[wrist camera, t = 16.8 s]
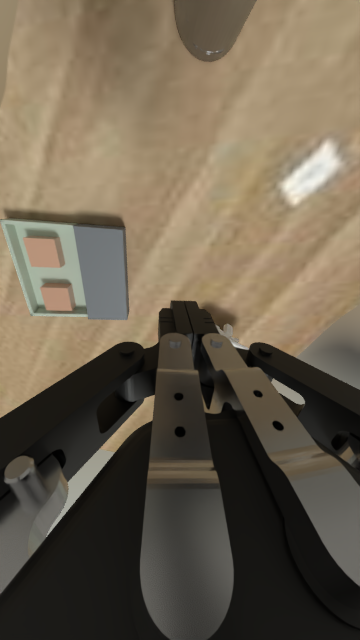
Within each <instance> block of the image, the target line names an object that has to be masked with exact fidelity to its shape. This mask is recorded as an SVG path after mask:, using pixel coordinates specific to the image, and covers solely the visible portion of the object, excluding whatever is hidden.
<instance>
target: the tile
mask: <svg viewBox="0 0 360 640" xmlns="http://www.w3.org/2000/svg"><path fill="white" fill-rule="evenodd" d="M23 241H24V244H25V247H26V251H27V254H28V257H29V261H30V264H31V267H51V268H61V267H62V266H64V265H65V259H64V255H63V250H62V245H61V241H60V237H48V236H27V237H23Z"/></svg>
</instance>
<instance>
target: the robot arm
mask: <svg viewBox="0 0 360 640" xmlns="http://www.w3.org/2000/svg"><path fill="white" fill-rule="evenodd" d="M256 1H257V0H175V4H174V6H175V18H176V23H177V28H178V31H179V34H180V37H181V39H182V41H183V43H184V45H185V46H186V48H187V49H188V50H189V52H190V53H191V54H192V55H193V56H195V57H196V58H197V59H200V60H202V61H208V62H212V61H215V60H218V59H220V58H221V57H223V56H224V55H225V54H226V53H227V52H228V51H229V50H230V49H231V47H232V46H233V44H234V43H235V41H236V39H237V37H238V35H239V33H240V31H241V29H242V27H243V26H244V24H245V22H246V20H247V18H248V16H249V14H250V12H251V10H252V8H253V6H254V4H255V3H256ZM158 341H159V342H158V343H157V344H156V345H155V346H153V347H150V348H146V349H144V348H143V347H142V346H141V345H140V344H138V343H135V342H123V343H119V344H117V345H115V346H114V347H112V348H110V349H109V350H107V351H106V352H104V353H102V354H101V355H99V356H98V357H96V358H95V359H93V360H91V361H90V362H88V363H87V364H85V365H83V366H82V367H80V368H79V369H77V370H76V371H74V372H72V373H71V374H69V375H68V376H66V377H65V378H63V379H61V380H60V381H58V382H57V383H55V384H53V385H52V386H50V387H49V388H47V389H46V390H44V391H42V392H41V393H39V394H38V395H36V396H35V397H33V398H31V399H30V400H28V401H27V402H25V403H23V404H22V405H20V406H19V407H17V408H16V409H14V410H12V411H11V412H9V413H8V414H6V415H4V416H3V417H1V418H0V640H360V390H359V389H357V388H355V387H353V386H351V385H349V384H347V383H345V382H343V381H340V380H338V379H337V378H335V377H333V376H331V375H329V374H327V373H325V372H323V371H321V370H319V369H317V368H315V367H313V366H311V365H309V364H307V363H305V362H303V361H301V360H299V359H297V358H295V357H293V356H291V355H289V354H287V353H285V352H283V351H281V350H279V349H277V348H275V347H273V346H271V345H269V344H266V343H260V342H258V343H253V344H251V345H250V348H249V350H246V349H242V348H237V347H234V346H233V344H232V343H231V341H230V340H229V339H228V338H227V337H225V336H223V335H221V334H220V333H219V331H218V329H217V327H216V325H215V323H214V321H213V319H212V317H211V315H210V313H208V312H207V311H206V310H205V309H199V307H198V305H197V302H196V301H184V302H183V301H171V304H170V308H162V309H161V311H160V312H159V327H158ZM273 378H274V379H275V380H277V381H279V382H281V383H282V384H284V385H286V386H287V387H289V388H291V389H292V390H294V391H296V392H297V393H299V394H300V395H301V396H302V397H303V398H304V400H305V404H302V405H299V404H296V403H294V402H293V401H291V400H290V399H288V398H286V397H285V396H283V395H282V394H280V393H278V391H277V390H276V389H275V387H274V386H273V385H272V383H271V381H272V379H273ZM152 395H155V400H154V411H153V421H151V422H149V423H146V424H145V425H143V426H141V427H140V428H138V429H137V430H136V431H134V432H133V433H132V434H131V435H130V436H129V437H128V438H127V439H126V440H125V441H124V442H123V444H122V445H121V446H120V447H119V449H118V450H117V451H116V452H115V453H114V455H113V456H112V457H111V458H110V460H109V461H108V462H107V463H106V465H105V466H104V467H103V468H102V470H101V471H100V472H99V473H98V474H97V476H96V477H95V478H94V479H93V481H92V482H91V483H90V484H89V486H88V487H87V488H86V489H85V491H84V492H83V493H82V494H81V495H80V497H79V498H78V499H77V500H76V502H75V503H74V504H73V505H72V506H71V508H70V509H69V510H68V512H67V513H66V514H65V515H64V516H63V517H62V519H61V520H60V521H59V522H58V524H57V525H56V526H55V527H54V529H53V530H52V531H51V532H50V534H49V535H48V536H47V537H46V535H47V533H48V531H49V529H50V527H51V525H52V524H53V522H54V521H55V520H56V518H57V517H58V515H59V514H60V513H61V511H62V509H63V508H64V505H65V503H66V500H67V497H68V483H67V482H68V481H69V480H70V479H71V478H72V477H73V476H74V475H75V474H76V473H77V472H78V471H79V470H80V468H81V467H82V466H83V465H84V464H85V463H86V462H87V461H88V460H89V459H90V458H91V457H92V456H93V455H94V454H95V453H96V452H97V451H98V450H99V448H100V447H101V446H102V445H103V444H104V443H105V442H106V441H107V440H108V439H109V438H110V437H111V436H112V435H113V434H114V433H115V432H116V430H117V429H118V428H119V427H120V426H121V425H122V424H123V423H124V422H125V421H126V420H127V419H128V418H129V417H130V416H131V415H132V414H133V413H134V411H135V410H136V409H137V408H138V407H139V406H140V405H141V404H142V403H143V401H144V398H146V397H149V396H152Z"/></svg>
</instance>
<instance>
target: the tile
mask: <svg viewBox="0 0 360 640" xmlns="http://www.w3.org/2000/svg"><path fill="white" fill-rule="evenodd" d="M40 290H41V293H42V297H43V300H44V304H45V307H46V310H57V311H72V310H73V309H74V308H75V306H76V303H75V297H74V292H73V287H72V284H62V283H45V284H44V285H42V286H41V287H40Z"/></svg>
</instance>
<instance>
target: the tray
mask: <svg viewBox="0 0 360 640" xmlns="http://www.w3.org/2000/svg"><path fill="white" fill-rule="evenodd" d="M0 222H1V226H2V229H3V232H4V235H5V238H6V241H7V244H8V247H9V250H10V253H11V256H12V259H13V262H14V265H15V269H16V272H17V275H18V278H19V281H20V284H21V287H22V290H23V293H24V296H25V299H26V302H27V305H28V308H29V311H30V315H31V316H69V317H88V314H87V308H86V302H85V295H84V289H83V283H82V277H81V271H80V265H79V259H78V253H77V247H76V240H75V234H74V228H73V226H75V225H78V223H65V222H52V221H40V220H27V219H15V218H8V219H0ZM27 236H48V237H60V241H61V245H62V250H63V255H64V259H65V265H64V266H62V267H61V268H51V267H31V264H30V261H29V257H28V254H27V251H26V247H25V244H24V241H23V237H27ZM45 283H62V284H72V287H73V292H74V297H75V303H76V306H75V308H74V309H73V310H72V311H57V310H46V307H45V304H44V300H43V297H42V293H41V290H40V287H41V286H42V285H44V284H45Z"/></svg>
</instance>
